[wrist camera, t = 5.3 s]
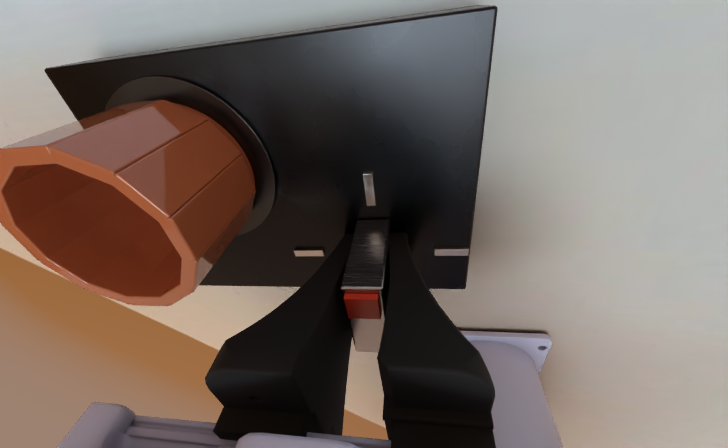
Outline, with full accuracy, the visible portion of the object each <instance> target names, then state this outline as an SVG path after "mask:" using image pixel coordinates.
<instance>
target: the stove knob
mask: <svg viewBox="0 0 728 448" xmlns="http://www.w3.org/2000/svg"><path fill="white" fill-rule="evenodd" d="M390 237H391V227H390V221H389V220H388V219H379V220H358V221H357V222H356V226H355V230H354V234H353V238H352V242H351V246H350V250H349V254H348V259H347V263H346V267H345V271H344V275H343V279H342V283H341V287H340V290H341V294H342V298H343V302H344V306H345V310H346V313H347V317H348V321H349V325H350V329H351V333H352V337H353V341H354V345H355V349H356V351H365V352H379V348H380V342H381V337H382V332H383V326H384V320H385V314H386V307H387V300H388V292H389V284H390V265H389V243H390Z"/></svg>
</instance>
